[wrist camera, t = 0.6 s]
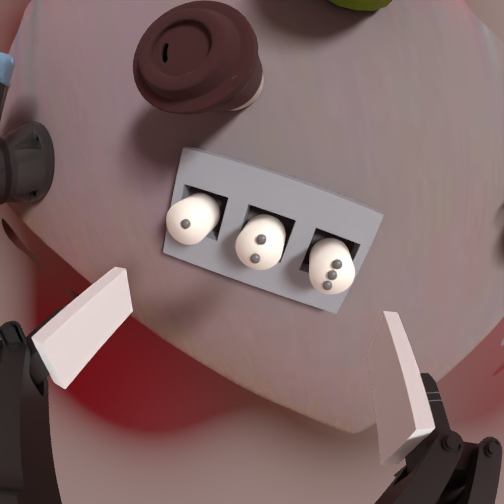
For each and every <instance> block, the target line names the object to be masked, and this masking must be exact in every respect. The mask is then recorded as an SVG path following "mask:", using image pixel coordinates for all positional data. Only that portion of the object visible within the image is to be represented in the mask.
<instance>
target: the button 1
mask: <svg viewBox="0 0 504 504" xmlns="http://www.w3.org/2000/svg"><path fill="white" fill-rule="evenodd" d="M219 219H220V209H219V206H218V204H217V202H216V201H215V200H214V199H213V198H212V197H211V196H210V195H208V194H205V193H195V194H192V195H190V196H189V197H187V198H185V199H183V200H181V201H179V202H177V203H176V204H174V205H173V206H172V207H171V208H170V209H169V211H168V213H167V217H166V224H167V228H168V231H169V233H170V234H171V236H172V237H173V238H174V239H175V240H177V241H178V242H180V243H182V244H186V245H193V244H196V243H198V242H200V241H201V240H202V239H203V238H204V237H205V236H206V235H207V234H208V233H209V232H210V231H211V230H212V229H213V228H214V227H215V226H216V225H217V224H218V222H219Z"/></svg>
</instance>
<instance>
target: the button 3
mask: <svg viewBox="0 0 504 504" xmlns="http://www.w3.org/2000/svg"><path fill="white" fill-rule="evenodd" d="M354 277H355V268H354V265H353V262H352V259H351V256H350V253H349V250H348V247H347V246H346V245H345V243H343V242H342V241H341V240H339V239H336V238H324V239H321V240H319V241H318V242H317V243H315V244H314V246H313V247H312V249H311V251H310V255H309V278H310V281H311V284H312V285H313V286H314V288H315V289H317V290H318V291H320V292H322V293H324V294H338V293H341V292H343V291H345V290H346V289H347V288H348V287H349V286H350V285H351V284H352V282H353V280H354Z"/></svg>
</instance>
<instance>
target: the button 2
mask: <svg viewBox="0 0 504 504" xmlns="http://www.w3.org/2000/svg"><path fill="white" fill-rule="evenodd" d="M285 238H286V231H285V228H284V226H283V224H282V223H281V221H280V220H279V219H277V218H276V217H274V216H272V215H269V214H260V215H257V216H254V217H253V218H251V219H250V220H249V221H248V223H247V224H246V226H245V227H244V228H243V230H242V231H241V233H240V234H239V236H238V237H237V240H236V245H235V248H236V253H237V256H238V258H239V259H240V260H241V262H242V263H243V264H245V265H246V266H248V267H249V268H252V269H256V270H265V269H269V268H271V267H273V266H274V265H276V264H277V262H278V261H279V260H280V258H281V255H282V251H283V247H284V243H285Z"/></svg>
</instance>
